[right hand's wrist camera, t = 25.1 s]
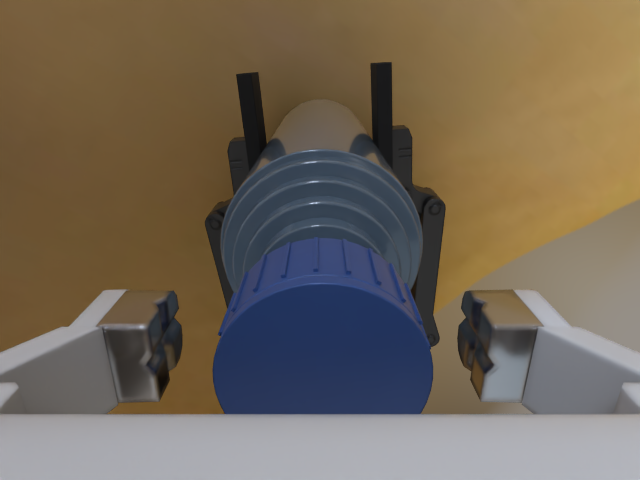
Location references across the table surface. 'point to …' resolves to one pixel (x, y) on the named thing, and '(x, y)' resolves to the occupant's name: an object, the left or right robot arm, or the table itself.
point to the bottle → (321, 194)
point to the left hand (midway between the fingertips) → (313, 68)
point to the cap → (322, 336)
